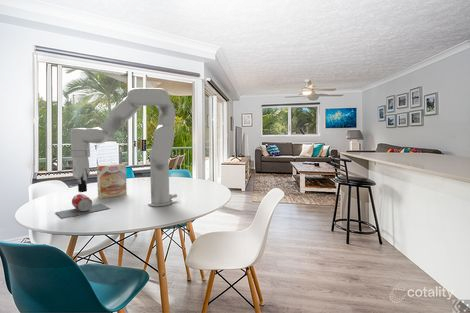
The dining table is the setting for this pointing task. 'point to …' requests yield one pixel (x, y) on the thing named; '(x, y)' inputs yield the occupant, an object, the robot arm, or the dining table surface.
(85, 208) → the soda can
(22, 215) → the dining table surface
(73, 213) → the mat
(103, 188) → the coffeecake box
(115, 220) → the dining table surface
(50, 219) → the dining table surface
